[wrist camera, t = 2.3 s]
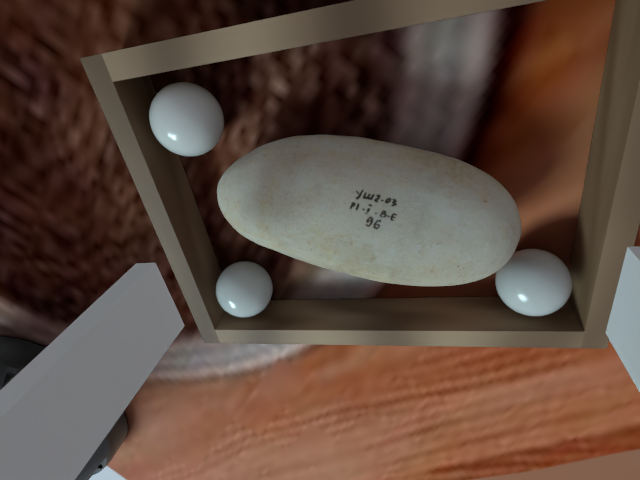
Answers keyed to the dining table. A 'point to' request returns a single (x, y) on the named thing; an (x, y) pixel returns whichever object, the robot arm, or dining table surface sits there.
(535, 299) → the pebble
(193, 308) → the parts frame
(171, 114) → the pebble
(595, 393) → the dining table surface
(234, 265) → the pale glossy ball
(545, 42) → the dining table surface
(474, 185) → the stone
